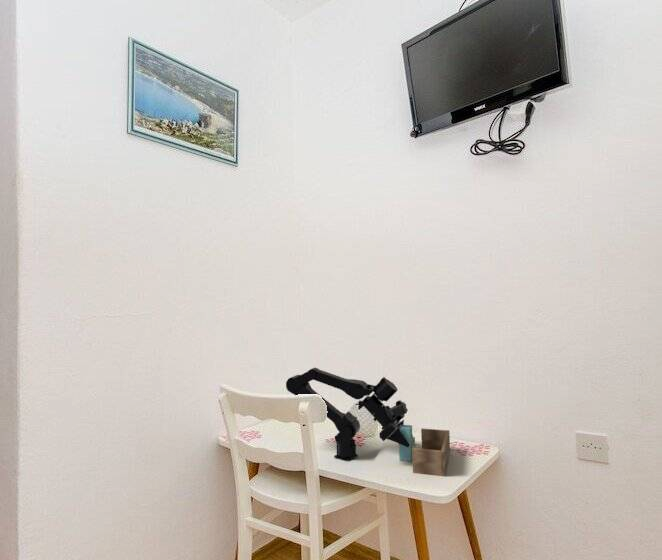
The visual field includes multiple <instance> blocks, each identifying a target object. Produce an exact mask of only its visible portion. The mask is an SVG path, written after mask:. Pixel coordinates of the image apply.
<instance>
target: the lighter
mask: <svg viewBox="0 0 662 560" xmlns="http://www.w3.org/2000/svg"><path fill="white" fill-rule="evenodd" d="M412 446H413V447H415V446H416V437H415V436H413V434H412Z"/></svg>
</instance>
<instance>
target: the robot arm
mask: <svg viewBox="0 0 662 560" xmlns="http://www.w3.org/2000/svg"><path fill="white" fill-rule="evenodd" d="M311 381H316V382H319V383H320V384H321V383H322V384H324V385H327V386H330V387H332V388H335V389H338V390H340V391H342V392H344V393H345V394H346V395H347V396H349V397H351V398H352V399H355V400H358V408H357V409H358V410H361V409H362V408H363V407H364V408H365V410H366V411H368V412H369V414H370V415H371V416H372V417H373V421H374V422H378V423H379V424H380V426H381V431H380V432H379V438H380V440H381V441H382V442H385V441H386V440H389V441H392V442H394V443H396V444H398V445H399V444H401V445H403V446H406V447H409V446H410V445H409V443H408V442H407V440H406V439H405V437H404V436H403V435H402V433H401V432H400V425H405V419H404V417H405V415H406V414H407V412H409V410H408V408H407V404H406V403H405V401H402V400H400V399H399V400H397V401H395V405H394V406H392V407H390V406H389V405H385V404H384V403H383V402H388V401H389V400H390V399H391V398H392V397H393V396H394V395H395V394H396V393H397V392H398V390H399V389H398V387H397V386H396V385H395V383H394V382H392V381H391V380H389V379H387V378H386V377H385V376H383V377H382V378H381V379H380V381H379V382H377V384H376V385H373V384H369V383H367V382H366V381H364V380H361V379H351V378H346V377H345V378H344V377H341V376H339V375H336V374H333V373H332V372H327V371H325V370H321V369H320V368H318V367H313V368H310V369H308V370H307V371H306V372H304V373H302V374H296V375H293V376H291V377H290V378H288V379H287V380H286V383H285V388H286V390H287V391H288V392H289V393H291V394H293V395H294V396H296V395H298V394H318V395H320V393H318V392H317V391H316V390H315V389H313V388H312V386H311V384H310V382H311ZM371 394H372V395H371ZM370 395H371V396H370ZM320 396H321V397H322V399H323V400H324V401H325V403H326V405H327V411H328V413H327V417H326V418H327V419H329V420H330V421H331V423H333V424H334V426H335V429H336V430H337V431H338V433H337V434H336V435H334V440H335V443H336V454H335V455H334V458H335V457H336V458H335V459H338V458H340V459H339V460H342V459H344V460H343V461H346V460H349V461H351V460H352V459H355V458H356V457H358V454H357V445H356V439H354V438H355V436H356V435H357V434H358V432H359V431H360V430H361V425H360V424H361V423H360V421H359V420H358V417H357V416H356V415H353V414H352V413H351V412H350V411H347V412H345V413H344V412H342V411H340V410H339V409H338V408H337V407H335V406H334V404H333V405H332V403H331V402H329V401H328V400H327V399H325V398H324V397H323V396H322V395H320ZM363 398H364V399H363ZM361 399H362V400H361ZM350 459H351V460H350Z"/></svg>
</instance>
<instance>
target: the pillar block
mask: <svg viewBox="0 0 662 560" xmlns="http://www.w3.org/2000/svg"><path fill="white" fill-rule="evenodd" d="M400 432H401V433H402V435H403V436H404V437H405V439H406V440H407V442H408V443H409V445H410V446H409V447H406V446H403V445H401V444H399V443H398V452H399V454H398V455H399V459H398V460H399V461H405V462H412V448H414V446H412V435H413V426H412V425H409V424H404V425H400Z"/></svg>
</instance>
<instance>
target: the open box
mask: <svg viewBox="0 0 662 560" xmlns="http://www.w3.org/2000/svg"><path fill="white" fill-rule="evenodd" d="M420 429H421V431H420V432H421V437H420V438H421V448H418V447H417V448H416V447H415V448H414V447H413V448H412V460H411V462H412V474H418V475H428V476H436V477H444V478H446V474H447V473H446V472H447V469H448V463H449V460H450V453H451V444H450V442H451V441H450V440H451V439H450V430H449V429H448V430H447V429H434V428H424V427H423V428H420Z"/></svg>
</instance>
